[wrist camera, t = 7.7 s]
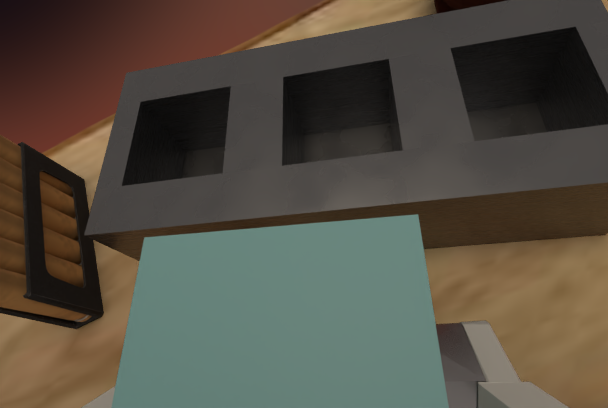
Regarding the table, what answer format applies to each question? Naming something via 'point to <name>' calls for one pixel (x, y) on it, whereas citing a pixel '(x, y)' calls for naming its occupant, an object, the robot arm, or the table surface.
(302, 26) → the table surface
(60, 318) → the ammunition clip
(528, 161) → the block with square holes
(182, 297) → the square peg
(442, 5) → the mate gourd
